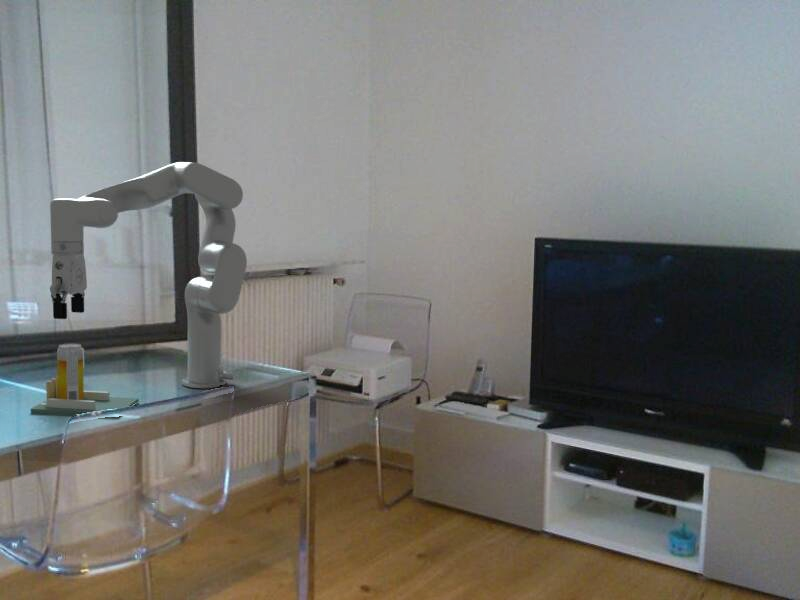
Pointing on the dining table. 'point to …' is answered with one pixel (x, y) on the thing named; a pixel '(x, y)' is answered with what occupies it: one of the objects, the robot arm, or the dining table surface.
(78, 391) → the beer can
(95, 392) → the board
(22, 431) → the dining table surface
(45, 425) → the dining table surface
